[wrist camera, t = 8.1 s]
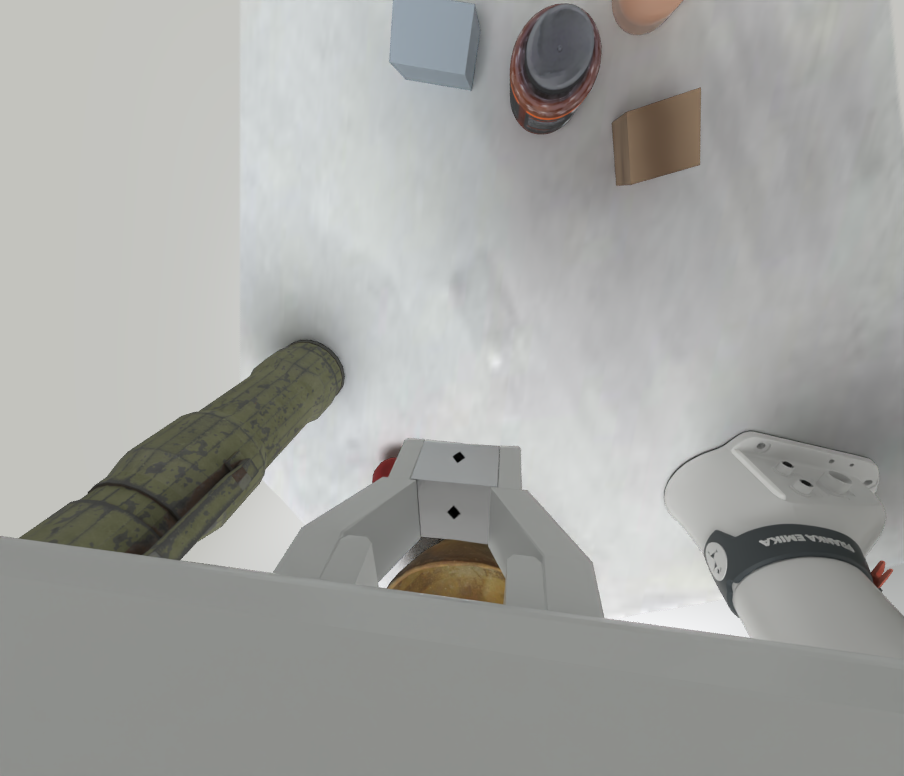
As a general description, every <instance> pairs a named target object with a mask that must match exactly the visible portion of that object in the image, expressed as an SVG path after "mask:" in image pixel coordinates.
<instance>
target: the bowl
mask: <svg viewBox="0 0 904 776" xmlns="http://www.w3.org/2000/svg"><path fill="white" fill-rule="evenodd" d="M387 589H394V590H401V591H409V592H416V593H423V594H431V595H438V596H446V597H453V598H460V599H468V600H475V601H482V602H490V603H497V604H503V602H504V591H505V577H504V575H503V573H502V571H501V569H500V567H499V565H498V564H497V562H496V560H495V558H494V556H493V554H492V552H491V550H490V548H489V547H488V544H481V543H474V542H467V541H460V540H453V539H444V540H443V541H441V542H440V543H438V544H436V545H434V546H432V547H430V548H428V549H427V550H425V551H424V552H422V553H421V554H420V555H419V556H418V557H417V558H415V559H414V560H413V561H412V562H411V563H409V564H408V565H407V566H406V567H405V568H404V569H402V570H401V571H400V572H399V573H398V574H397V575H396V577H395V578H394V579H393V580H392V581H391V582H390V584H389V585H388V587H387Z"/></svg>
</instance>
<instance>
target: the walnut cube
mask: <svg viewBox="0 0 904 776" xmlns="http://www.w3.org/2000/svg"><path fill="white" fill-rule="evenodd" d="M700 121H701V87H700V88H697V89H694V90H691V91H688V92H685V93H682V94H679V95H676V96H673V97H670V98H667V99H664V100H661V101H658V102H655V103H652V104H649V105H646V106H643V107H640V108H637V109H634V110H631V111H628V112H626V113H625V114H623V115H622V116H621V117H619V118H618V119H617V120H615V121H614V122H612V133H613V147H614V160H615V174H616V186H621V185H632V184H635V183H639V182H642V181H646V180H649V179H653V178H656V177H660V176H663V175H667V174H670V173H674V172H677V171H681V170H684V169H688V168H691V167H695V166H698V165H700Z"/></svg>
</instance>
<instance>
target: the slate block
mask: <svg viewBox="0 0 904 776" xmlns="http://www.w3.org/2000/svg"><path fill="white" fill-rule="evenodd" d="M479 37H480V27H479V22H478V17H477V12H476V7H475V4H471V3H465V2H459V1H453V0H393V10H392V26H391V43H390V59H389V62H390V63H391V64H392V66H393V67H394V68H395V69H396V70H397V71H398V72H399V73H400V74H401V75H402V76H403V77H404V78H405V79H406V80H412V81H418V82H424V83H430V84H435V85H441V86H447V87H453V88H459V89H464V90H470V91H471V90H472V84H473V77H474V70H475V63H476V57H477V50H478V43H479Z"/></svg>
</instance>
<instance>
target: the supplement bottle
mask: <svg viewBox="0 0 904 776" xmlns="http://www.w3.org/2000/svg"><path fill="white" fill-rule="evenodd" d="M601 47H602V46H601V41H600V36H599V32H598V29H597V27H596V24H595V22H594V21H593V19H592V18H591V16H590V15H589V14H588V13H587V12H585V11H584V10H583V9H581V8H579V7H577V6H575V5H573V4H555V5H551V6H549V7H546V8H545V9H543V10H541V11H540V12H538V13H537V14H535V15H534V16H533V17H532V18H531V19H530V20H529V21H528V23H527V24H526V25H525V26H524V28H523V29H522V31H521V33H520V34H519V36H518V38H517V41H516V43H515V46H514V49H513V53H512V57H511V64H510V102H511V107H512V111H513V114H514V116H515V118H516V120H517V121H518V123H519V124H520V125H521V126H522V127H523V128H524V129H525V130H527V131H528V132H531V133H534V134H548V133H552V132H554V131H556V130H558V129H559V128H561V127H562V126H563V125H564V124H565V123H567V122H568V120H569V119H570V118H571V117H572V115H573V114H574V113H575V111H576V110H577V109H578V107H579V106H580V105H581V103H582V102H583V101H584V99H585V98H586V96H587V95H588V93H589V92H590V90H591V89H592V86H593V84H594V82H595V80H596V77H597V74H598V71H599V67H600V62H601Z"/></svg>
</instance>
